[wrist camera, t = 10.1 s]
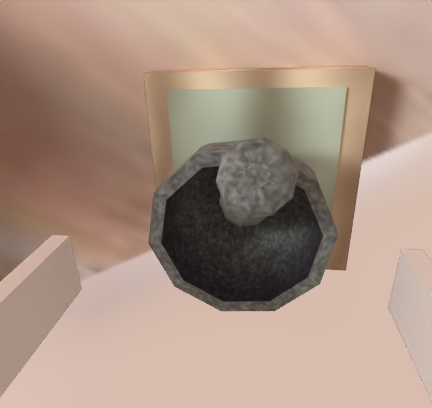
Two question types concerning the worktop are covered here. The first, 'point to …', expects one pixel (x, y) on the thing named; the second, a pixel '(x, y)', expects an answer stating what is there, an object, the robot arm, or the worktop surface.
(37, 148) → the worktop surface
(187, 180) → the mortar and pestle
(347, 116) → the beige flat pad
